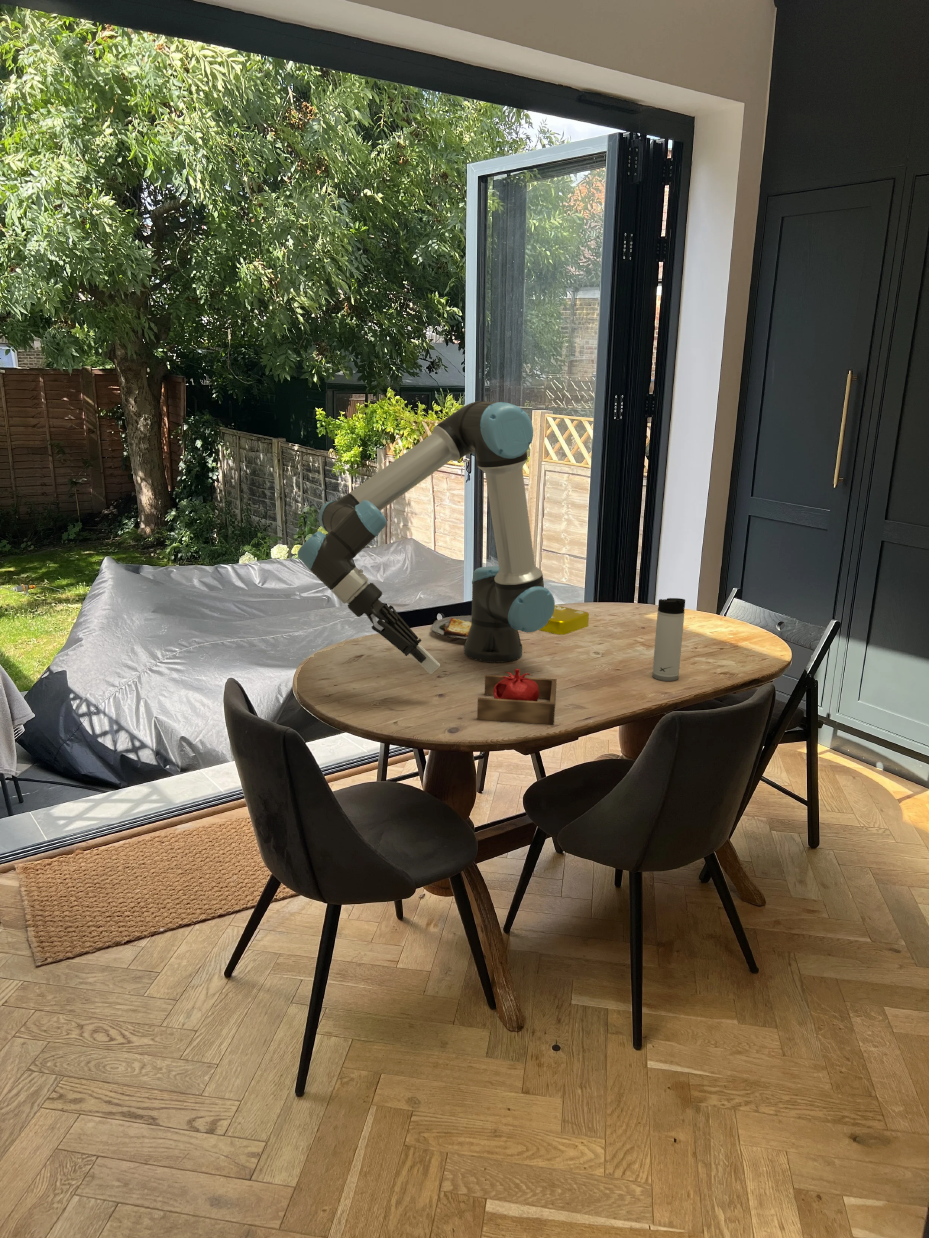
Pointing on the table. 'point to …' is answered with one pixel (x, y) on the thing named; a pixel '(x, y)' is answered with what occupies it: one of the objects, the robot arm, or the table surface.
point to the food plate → (453, 627)
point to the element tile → (566, 621)
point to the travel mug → (668, 639)
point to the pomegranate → (516, 688)
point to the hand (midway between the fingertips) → (435, 669)
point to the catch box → (518, 704)
